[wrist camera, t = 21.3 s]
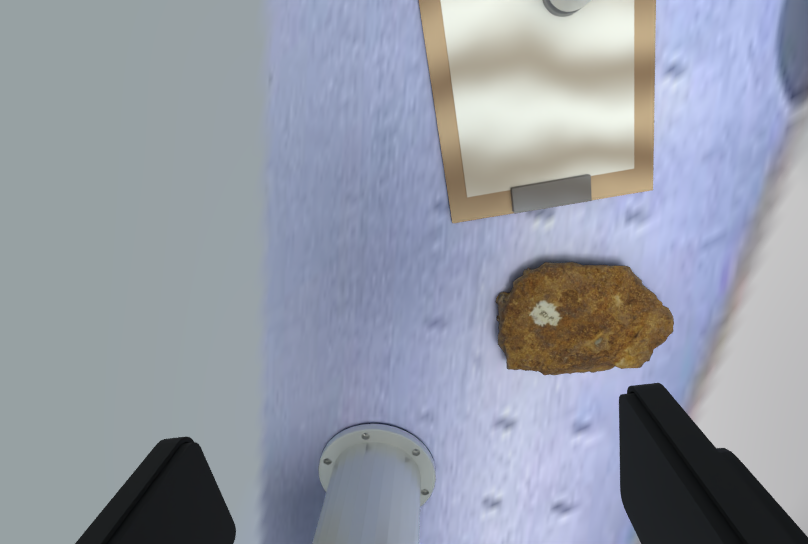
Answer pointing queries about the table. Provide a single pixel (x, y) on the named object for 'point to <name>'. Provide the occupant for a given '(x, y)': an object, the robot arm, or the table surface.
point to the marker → (564, 6)
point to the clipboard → (541, 102)
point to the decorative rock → (580, 319)
